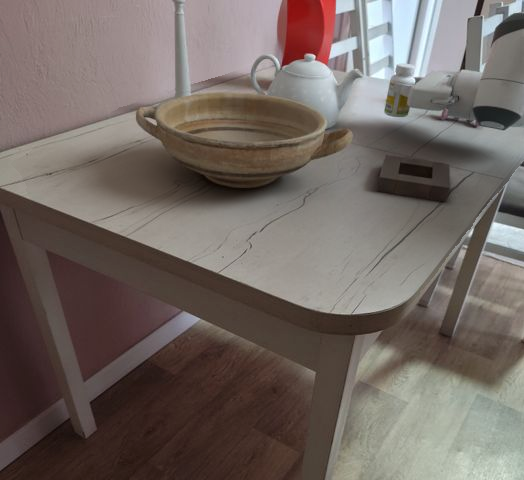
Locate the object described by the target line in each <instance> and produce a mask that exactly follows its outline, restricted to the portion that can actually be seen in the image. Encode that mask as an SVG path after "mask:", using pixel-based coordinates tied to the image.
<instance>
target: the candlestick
mask: <svg viewBox="0 0 524 480" xmlns="http://www.w3.org/2000/svg"><path fill="white" fill-rule="evenodd" d="M171 1H172V2H173V6H174V12H173V14H174V67H175V68H174V79H175V81H174V83H175V84H174V85H175V86H174V87H175V88H174V92H175V93H174V97H170V98H167V99H164V100H163V101H161V102H160V103H158V104H157V105H156V107H155V109H156V110H157V109H158V108H159V106H161V105H162V104H164V103H166V102H168V101H170V100H173V99H176V98H180V97H184V96H189V95H192V92H191V91H192V89H191V79H190V78H191V77H190V68H189V56H188V46H187V34H186V22H185V21H186V20H185V12H184V4H185V2H186V0H171Z"/></svg>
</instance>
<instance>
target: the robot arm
mask: <svg viewBox="0 0 524 480" xmlns="http://www.w3.org/2000/svg"><path fill="white" fill-rule="evenodd" d="M489 48H490V50H489V52H488V55H487V58H486V62H485V64H484V68H483V70H482V72H481V71H475V70H471V69H461V70H460V71H455V70H431V71H429V72H428V73H427V74H426V75H425V76H413V77H414V78H415V85H406V84H404V83H399V82H397V83H395V84H394V85H393V92H394V93H399V94H401V95H404V96H406V97H408V100H407V105H408V106H409V107H410V108H412V109H418V110H426V111H436V112H441V111H442V112H443V110H444V109H448V111H447V116H448V117H450V118H453V117H455V118H460V119H461V120H465V121H466V120H474V121H476V120H477V122H478V124H479V126H478V127H482V128H488V129H494V130H499V131H505V130H507V129H509V128H524V11H520V12H513V13H512V14H510V15H509V16H507V17H506V18H504V19H503V20H502V21H501V22H499V24H498V25H497V26H496V27H495V29H494V32H493V36H492V39H491V44H490V47H489Z"/></svg>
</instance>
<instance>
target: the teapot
mask: <svg viewBox="0 0 524 480" xmlns="http://www.w3.org/2000/svg"><path fill="white" fill-rule="evenodd" d="M304 58H305V59H304V60H296V61H293V62H291V63H290V64H289V65H286V66H283V67H282V70H281V69H280V68H281V64H280V61H279V59H278V58H277V57H276V56H274V55H273V54H271V53H264V54H262V55H260V56H259V57H258V58H256V60H255V61H254V63H253V64H252V66H251V69H250V75H249V76H250V81H251V85H252V87H253V89H254V90H255V92H256V94H262V95H270V96H275V97H281V98H285V99H289V100H293V101H296V102H299V103H302V104H305V105H307V106H310V107H312V108H314V109H315V110H317V111H319V112H320V113H321V114H322V115H323V116H324V117H325V119H326V120H327V127H326V129H325V130H328V129H331V128H333V127H334V126H335V125H336V124H337V122H338V120H339V118H340V114H341V110H342V109H343V108H344V107H345V105H346V103H347V101H348V99H349V96H350V93H351V89H352V87H353V84H354V82H355V81H356V79H362V78H363V77H364V76H363V73H362V72H361V70H360V69H358V68H353V69H351V70H349V72H348V73H347V74H346V76H345V77H344V78H343V80H342V82H341V83H340V84H339V83H338V81H337V80H336V78H335V76H334V73H333V70H331V69H330V68H329V67H328V65H327V66H326V65H325V64H323V63H321V62H319V61H315V58H316V57H315V55H313V54H305V55H304ZM264 60H269V61H271V62H272V63H273V65H274V66H275V67H274V68H275V72H274V78H273V79H272V81H271V83H270V85H269V87H268V89H267V93H265V92H264V91H263V90H262V88H261V87H260V85H259V83H258V82H257V77H256V72H257V68H258V66H259V65H260V64H261V62H262V61H264Z"/></svg>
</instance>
